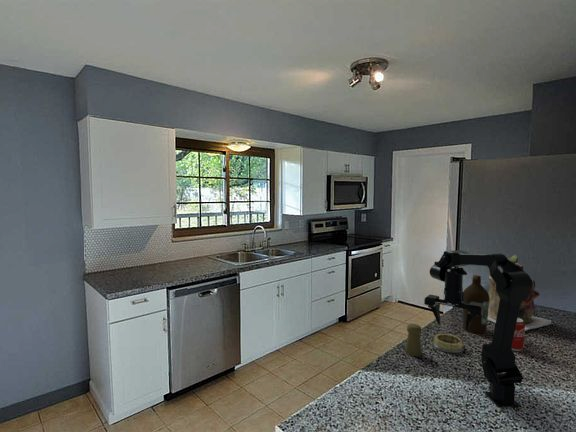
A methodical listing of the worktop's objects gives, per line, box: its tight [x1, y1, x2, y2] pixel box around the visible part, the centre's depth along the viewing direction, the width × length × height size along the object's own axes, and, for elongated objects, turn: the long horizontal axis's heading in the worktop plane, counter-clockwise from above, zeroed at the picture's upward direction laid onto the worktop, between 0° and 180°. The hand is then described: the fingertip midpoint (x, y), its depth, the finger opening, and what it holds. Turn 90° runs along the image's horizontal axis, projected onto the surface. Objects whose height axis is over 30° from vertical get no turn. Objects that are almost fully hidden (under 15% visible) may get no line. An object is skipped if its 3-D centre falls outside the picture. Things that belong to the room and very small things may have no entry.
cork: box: [404, 323, 423, 357], centre depth 127 cm, size 6×6×11 cm
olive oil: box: [462, 274, 490, 335], centre depth 149 cm, size 11×11×25 cm
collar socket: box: [432, 333, 464, 355], centre depth 132 cm, size 11×11×3 cm
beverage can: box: [512, 318, 526, 352], centre depth 131 cm, size 6×6×12 cm
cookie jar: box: [487, 254, 552, 332], centre depth 160 cm, size 25×25×32 cm
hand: (452, 327), depth 120 cm, fingers open, 9 cm apart
